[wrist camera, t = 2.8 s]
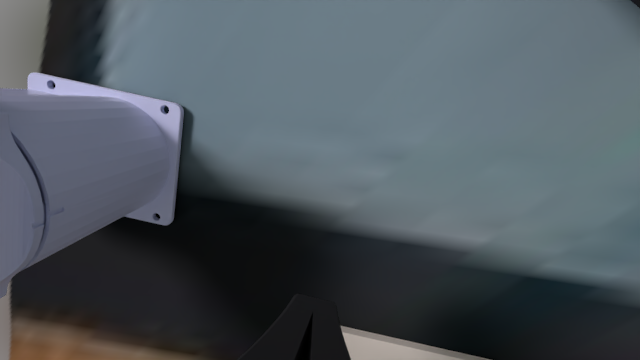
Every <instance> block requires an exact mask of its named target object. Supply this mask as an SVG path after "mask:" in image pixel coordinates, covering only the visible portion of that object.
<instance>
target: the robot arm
mask: <svg viewBox="0 0 640 360" xmlns="http://www.w3.org/2000/svg"><path fill="white" fill-rule="evenodd" d="M53 82H54V83H55V88H54V87H53ZM165 106H167V107H168V108H169V113H168V114H167V113H166V112H165V111H164V107H165ZM183 118H184V110H183V108H182V106H181V105H180V104H178V103H174V102H169V101H165V100H160V99H156V98H151V97H147V96H142V95H137V94H133V93H128V92H124V91H119V90H115V89H110V88H106V87H101V86H97V85H92V84H88V83H83V82H79V81H74V80H69V79H65V78H60V77H56V76H51V75H47V74H42V73H31V74H30V75H29V76H28V89H10V88H0V298H2V297H3V296H5V295H6V293H7V286H8V284H9V281H10V280H11V278H12V277H13V276H14V275H15V274H17V273H18V272H20V271H22V270H23V269H25V268H27V267H29V266H31V265H33V264H35V263H37V262H39V261H40V260H42V259H44V258H46V257H48V256H50V255H52V254H54V253H55V252H57V251H59V250H61V249H63V248H65V247H67V246H69V245H71V244H72V243H74V242H76V241H78V240H80V239H82V238H84V237H86V236H88V235H89V234H91V233H93V232H95V231H97V230H99V229H101V228H103V227H105V226H106V225H108V224H110V223H112V222H114V221H116V220H118V219H120V218H121V217H123V216H124V217H129V218H133V219H138V220H142V221H146V222H151V223H155V224H160V225H169V224H170V223H172V222H173V220H174V212H175V202H176V191H177V181H178V170H179V160H180V149H181V139H182V128H183ZM156 213H157V214H159V215H160V219H159V218H157V216H156ZM237 360H351V358H350V355H349V352H348V349H347V346H346V343H345V340H344V337H343V333H342V330H341V326H340V322H339V317H338V312H337V306H336V304H335V303H334V302H331V301H327V300H322V299H318V298H314V297H310V296H306V295H302V294H298V293H297V294H296V295H294V296H293V298H292V299H291V301H290V302H289V304H288V305H287V307H286V308H285V309H284V311H283V312H282V313H281V314H280V316H279V317H278V318H277V319H276V320H275V321H274V323H273V324H272V325H271V326H270V327H269V328H268V329H267V330H266V332H265V333H264V334H263V335H262V336H261V337H260V338H259V339H258V340H257V341H256V342H255V343H254V344H253V345H252V346H251V347H250V348H249V349H248V350H247V351H245V352H244V353H243V354H242V355H241V356H240V357H239V358H238V359H237Z"/></svg>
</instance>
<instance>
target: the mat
mask: <svg viewBox="0 0 640 360" xmlns="http://www.w3.org/2000/svg"><path fill="white" fill-rule="evenodd" d="M341 330H342V333H343V337H344V340H345V343H346V346H347V349H348V352H349V355H350V358H351V360H491V359H486V358H482V357H477V356H473V355H468V354H464V353H460V352H455V351H451V350H446V349H442V348H437V347H433V346H429V345H424V344H420V343H415V342H411V341H406V340H402V339H397V338H393V337H389V336H384V335H380V334H375V333H371V332H366V331H362V330H358V329H353V328H349V327H344V326H341Z"/></svg>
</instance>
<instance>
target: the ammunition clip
mask: <svg viewBox="0 0 640 360" xmlns="http://www.w3.org/2000/svg"><path fill="white" fill-rule="evenodd" d="M631 1H632V2H633V3H634V4H636V5H637V6H638V7H639V8H640V0H631Z"/></svg>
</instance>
